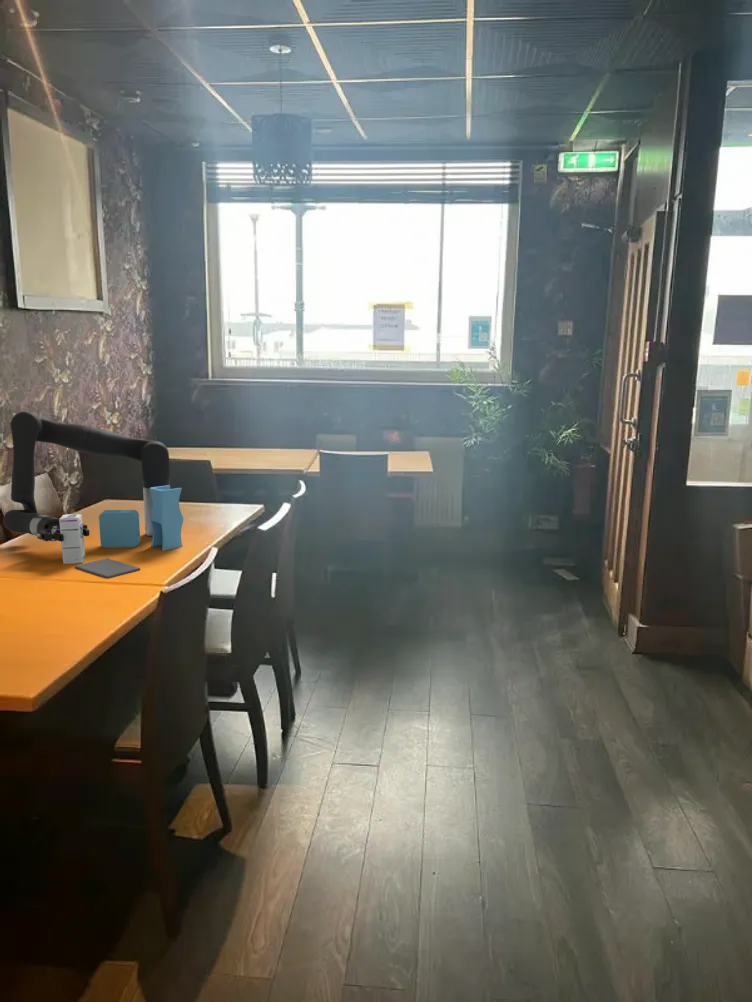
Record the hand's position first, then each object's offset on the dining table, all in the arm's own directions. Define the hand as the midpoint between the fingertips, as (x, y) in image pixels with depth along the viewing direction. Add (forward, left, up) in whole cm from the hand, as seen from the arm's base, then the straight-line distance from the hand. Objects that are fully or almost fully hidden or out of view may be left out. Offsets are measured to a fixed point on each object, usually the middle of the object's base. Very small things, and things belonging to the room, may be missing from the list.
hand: (75, 535), depth 226 cm
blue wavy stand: (-29, -8, -9) cm, 31 cm away
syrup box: (+1, -2, -9) cm, 9 cm away
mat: (-7, +11, -9) cm, 16 cm away
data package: (-15, -15, -9) cm, 23 cm away
